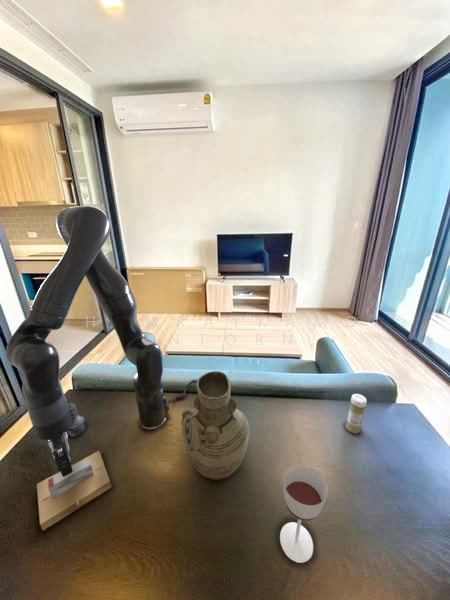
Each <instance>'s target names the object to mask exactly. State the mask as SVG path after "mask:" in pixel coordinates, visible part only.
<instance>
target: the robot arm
mask: <svg viewBox="0 0 450 600" xmlns="http://www.w3.org/2000/svg"><path fill="white" fill-rule="evenodd" d="M55 223H56V229H57V231H58V234H59V236H60V237H61V239H62V241H63V242H64V244H65V245H66V249H65V252H64V253H63V255H62V257H61V258H60V260H59V261H58V263H57V264H56V266H55V267H53V269H52V271H51V272H50V273H49V274H48V275H47V277H46V278H45V279H44V281H43V282H42V284H41V285H40V287H39V289H38V291H37V292H36V295H35V297H34V298H33V302H32V304H31V306H30V309H29V311H28V314H27V316H26V317H25V319H24V320H22V322H21V323H20V325H19V326H18V327H17V329H16V330H15V331H14V332H13V334H12V335H11V337H10V338H9V340H8V343H7V345H6V347H5V348H6V350H5V358H6V361H7V362H8V363H9V364H10V365H11V366H13V367H15V368H17V369H19V370H21V372H22V373H23V375H24V378H25V380H24V382H23V383H22V386H21V390H22V393H23V397H24V401H25V403H26V406H27V412H28V416H29V419H30V422H31V425H32V428H33V431H34V433H35V436H36V438H38V439H39V440H42V441H47V444H48V448H50V450H51V454H52V458H53V459H54V460H55V463H56V466H57V471H58V472H60V471H61V473H62V476H63V477H64V476H66V475H68V474H70V473H72V471H73V470H72V466H71V465H72V462H71V457H70V454H69V453H70V450H71V449H70V445H69V441H68V439H69V435H68V430H67V429H68V428H69V427H70V425H71V423H72V418H71V414H70V410H69V407H68V404H69V402H68V400H67V397H66V395H65V393H64V390H63V387H62V383H61V380H60V371H61V370H60V369H61V368H60V366H61V365H60V364H61V360H60V354H59V352H58V349H57V348H56V347H55V346H54V344H53V343H51V342H49V341H47V338H48V337H49V335H50V334H51V332H52V331H57V330H60V329H62V327H63V326H64V325H65V322H66V319H67V317H68V315H69V312H70V310H71V307H72V304H73V303H74V299H75V297H76V296H77V293H78V291H79V288H80V286H81V284H82V282H83V281H84V278H86V280H87V282H88V284H89V286H90V288H91V289H92V291H93V293H94V296H95V297H96V300H97V301H98V304H99V305H100V307H101V309H102V311H103V313H104V315H105V316H106V318H107V320H108V321H109V323H110V325H111V327H112V329H113V330H114V332H115V333H116V335H117V337H118V340H119V343H120V346H121V348H122V351H123V353H124V356H125V358H126V359H127V361H128V362H130V363H131V364H132V365H133V366H135V368H136V373H135V374H134V375H133V379H132V382H133V388H134V395H135V399H136V406H137V410H138V412H137V413H138V417H139V424H140V427H141V428H142V429H143V430H146V431H154V430H157V429H159V428H161V427H162V426H163V425H164V424H165V423H166V421H167V420H169V412H168V411H170V405H169V404H170V403H173V402H174V401H176V400H181V399H184V398H185V397H186V394H187V393H186V391H187V390H188V388H189V387H190V386H191V385H192V384H193V383H197V380H198V379H192V380H191V381H190V382H188V383H187V384H186V386H185V387H184V389H183V393H182V395H180V396H176V397H173V398H170V399H169V400H167V397H166V396H165V395H164V394H165V393H164V387H163V378H162V376H163V373H164V364H163V362H164V361H163V352H162V349H161V346H160V345H159V344H158V343H156V342H155V341H153V340H151V339H149V338H148V337H147V336H146V335H145V334H144V332H143V330H142V328H141V326H140V324H139V322H138V307H137V306H138V305H137V301H136V298H135V295H134V293H133V291H132V289H131V286H130V284H129V283H128V281H127V280H126V279H125V277H124V276H123V275H122V274H121V272H120V271H119V270H118V269H117V268H116V267H115V266H114V265H113V264H112V262H111V261H110V260H109V259H108V257H107V256H106V254H105V253H104V250H103V246H104V245H105V243H106V242H107V240H108V238H109V236H110V233H111V223H110V220H109V217H108V216H107V214H106V213H105V212H104V211H103V210H102V209H100V208H99V207H97V206H93V205H77V206H70V207H65V208H62V209H61V210H60V211H59V212H58V214H57V216H56V222H55ZM195 380H196V381H195Z"/></svg>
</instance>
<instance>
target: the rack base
mask: <svg viewBox="0 0 450 600" xmlns="http://www.w3.org/2000/svg"><path fill="white" fill-rule="evenodd" d="M88 458H89V459H90V462H91V465H92V469H93V472H94V475H92V476H91V477H89V478H87V479H86V480H84V481H82V482H80V483H79V484H77V485H75V486H74V487H72V488H70V489H68V490H67V491H65V492H63V493H62V494H60V495H58V496H56V497H55V498H53V499H52V496H51V494H50V491H49V488H48V480H49V479H50V478H52V477H55V476H57V475H59V474H60V473H61V471H60V472H59V471H58V472H57V473H55V474H52V475H51V476H49V477H47V478H45V479H44V480H42V481H40V482H38V483H36V494H37V504H38V505H37V506H38V517H39V526H40V528H41V531H45V530H47V529H48V528H50V527H52V526H53V525H55V524H56V523H58V522H59V521H61V520H62V519H64V518H65V517H67V516H69V515H71V514H72V513H73V512H75V511H77V510H78V509H80V508H82V507H83V506H84V505H86V504H88V503H89V502H91V501H93V500H94V499H96V498H97V497H99V496H100V495H102V494H104V493H105V492H107V491H109V489H111V488H112V484H111V479H110V477H109V475H108V471H107V469H106V466H105V463H104V459H103V458H102V454H101V452H100V450H97V451H96V452H94V453H92V454H90V455H88V456H86V457H84V458H83V459H80V460H79V461H77V462H76V463H73V464H71V466H72V467H73V466H75V465H77V464H79V463H81V462H82V461H84V460H86V459H88Z"/></svg>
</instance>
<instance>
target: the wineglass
mask: <svg viewBox="0 0 450 600" xmlns="http://www.w3.org/2000/svg"><path fill="white" fill-rule="evenodd" d="M282 489H283V498H284V502H285V506H286V508H287V510H288V512H289V513H290V514H291V516H293V517H294V518H296V519H297V521H296V522H293V521H290V522H287V523H285V524H284V525H283V526H282V528H281V529H280V534H279V541H280V545H281V548H282V551H283V552H284V554H285V555H286V557H288V559H290V560H291V561H293V562H295V563H301V564H303V563H306V562H308V561H309V560H311V558H312V556H313V553H314V543H313V538H312V536H311V534H310V533H309V530H307V529H306V528H305V527H304V526H303V525H302V521H305V522H309V521H312V520H314V519H316V518H317V517H318V516H319V515H320V513H321V512H322V510H323V507H324V505H325V503H326V499H327V496H328V485H327V482H326V480H325V478H324V477H323V475H322V474H321V473H320V472H319V471H318V470H317V469H315V468H313V467H312V466H309V465H305V464H296V465H293V466H290V467H289V468H288V469H287V470H286V471H285V473H284V475H283V484H282Z"/></svg>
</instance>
